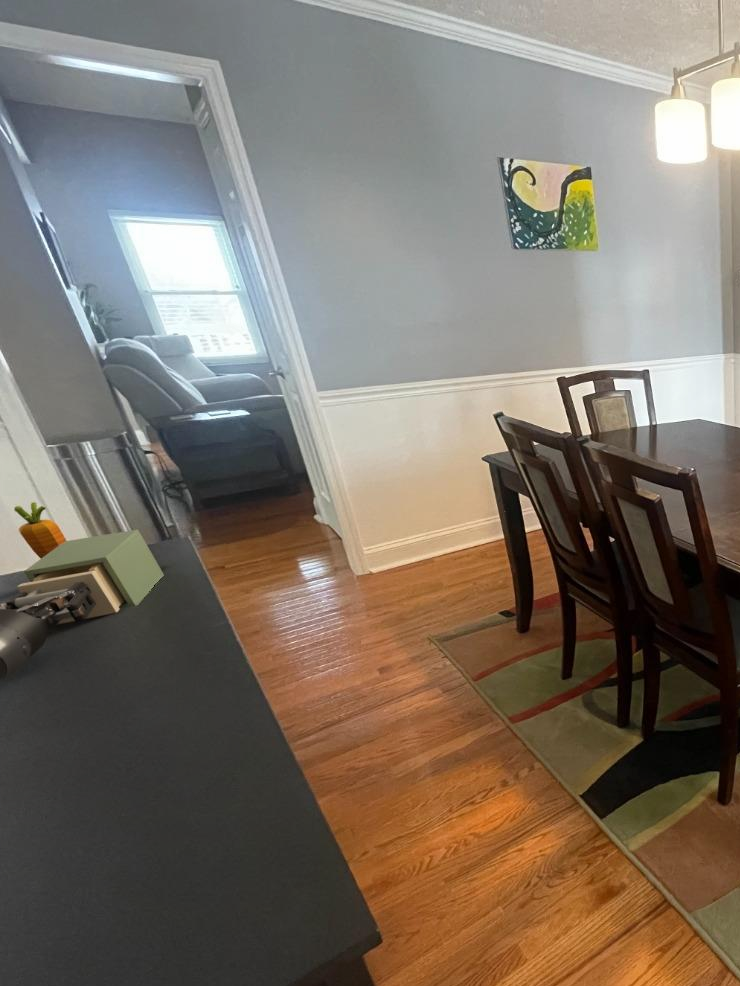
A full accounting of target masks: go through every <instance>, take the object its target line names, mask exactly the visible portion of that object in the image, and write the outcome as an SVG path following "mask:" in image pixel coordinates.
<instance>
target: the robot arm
mask: <svg viewBox="0 0 740 986" xmlns="http://www.w3.org/2000/svg"><path fill="white" fill-rule="evenodd" d="M90 593H91V590H90V589H89V587H88V585H87V584H85V583H84V582H77V583H75V584H74V585H72V586H71V587H70V588H69V589H68V590H67V591H65V593H63V594H61V595H59V596H57V597H47V598H45V599H42V600H40V601H38V602H36V603H34V604H32V605H26V606H24V607H22V608H17V607H16V606H15V603H14V601H15V599H17V598H21V597H26V596H27V595H28V594H27V593H26V592H22V593H21V592H18V593H16V594H15V595H13V596H12V597H10V599H8V600H7V601H6V602H4V603H2V602H1V603H0V683H1V682H3V681H4V680H6V679H7V678H9V677H11V676H12V675H13V674H14V673H16V671H18V670H19V669H20V668H21V667H22V666H23V665H24V664H25V663H27V661H28V660H29V659H30V658H31V657H32V656H33V655H34V654H35V653H36V652H37V651H39V649H41V648H42V647H43V645H44V644H45V642H46V640H47V636H48V632H49V630H50V629H51V628H53V627H55V626H56V624H57V625H59V624H58V623H59V622H60V621H61V620H63V619H66V618H71V617H73V619H74V620H75V621H74V622H80V621H83V620H86V619H85V618H86V617H87V616H88V615H89V613H90V612H91V610H92V609H93V608H94V606H95V605H96V602H95V601H94V599H93V598H92V596H91V594H90ZM65 599H67V601H68V602H69V603H66V604H63V600H65ZM48 604H49V605H50V607H51V608H52V609H53V610H52V609H51V608H49V607H47V606H46V605H48Z"/></svg>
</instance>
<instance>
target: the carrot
mask: <svg viewBox="0 0 740 986" xmlns="http://www.w3.org/2000/svg"><path fill="white" fill-rule="evenodd" d="M13 509H14V512H16V513H17V514H18V515H19V516H20V517H21V518H22V519H23V520H25V521H26V522H27V523H24V524H21V526H19V528H18V532H19V534H20V535H21V536H22V538H23V539H24V541H25V542H26V544H27V545H28V547H30V549H31V550H32V551H33V552H34V554H35V555H36V556H37V557H38V558H39V559H41V558H43V557H44V556H46V555H47V554H48V553H50V552H51V551H52V550H54V549H55V548H57V547H58V546H59V545H61V544H62V543H63V542H65V541H67V538H66V537H65V535H64V533H63V531H62V530H61V528H60V527H59V525H58V524H57V523H56V522H55V521H53V520H52V519H41V515H42V513H43V511H45V510H46V509H47V507H46V506H44V505H41V506H39V507H38V508H37V502H35V501H34V502H31V503H30V510H31V512H30V513H29V512H28V511H26V510H25V509H24V508H23V507H22V506H21V505H16V506H15V507H14V508H13Z"/></svg>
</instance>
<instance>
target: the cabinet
mask: <svg viewBox="0 0 740 986" xmlns="http://www.w3.org/2000/svg"><path fill="white" fill-rule="evenodd" d="M101 562H103V564H104V566H105V568H106V569H107V571H108V572H109V574H110V576H111V577H112V579H113V580H114V582H115V584H116V585H117V587H118V589H119V590H120V592H121V593H122V595H123V597H124V598H125V601H124V602H123V603H122V604H121V605H120V606H119V609H121V608H127V607H128V608H129V607H135V606H138V605H139V604H140V603H141V602H143V600H144V599H145V598H146V596H148V594H149V593H150V592H151V591H152V590H153V589H154V588H155V587H154V585H155V584H156V583H157V582H158V581H159V580H160V579H161V578H162V577H163V576H164V577H165V575H164V572H163V571H162V569H161V567H160V565H159V564H158V561H157V560H156V559H155V557H154V555H153V553H152V551H151V550H150V548H149V546H148V544H147V543H146V540H145V539H144V538H143V536H142V534H141V532H140V530H139V529H133V530H132V529H131V530H126V531H119V532H114V533H108V534H107V533H106V534H102V535H101V534H100V535H96V536H89V537H83V538H82V537H81V538H76V539H71V540H66V541H65V542H63V543H62V544H61V545H59V546H58V547H57V548H55V549H54V550H52V551H51V552H50V553H48V554H47V555H46V556H44V557H43V558H39V559H38V560H37V561H36V562H34V563H33V564H32V565H30V566H29V567H28V568H26V569H25V570H23V573H24V575H25V576H26V577H27V579H28V581H29V582H34V581H33V579H35V578H36V577H37V576H39V575H40V574H41V573H44V572H50V571H56V570H61V569H67V568H73V567H79V566H84V565H90V564H96V563H101ZM164 577H163V578H164ZM163 578H162V579H163ZM162 579H161V580H162ZM161 580H160V581H161ZM160 581H159V582H160ZM159 582H158V583H159ZM158 583H157V584H158ZM157 584H156V585H157ZM156 585H155V586H156ZM153 587H154V588H153ZM152 588H153V589H152ZM151 589H152V590H151ZM149 591H150V592H149ZM144 597H145V598H144Z"/></svg>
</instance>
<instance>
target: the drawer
mask: <svg viewBox="0 0 740 986" xmlns="http://www.w3.org/2000/svg"><path fill="white" fill-rule="evenodd" d="M33 581H34V582H30V581H29V582H24V583H23V582H22V583H20V584H18V585H17V586H16V588H17V590H18V591H19V593H22V592H26V593H27V594H28V595H27V596H26V597H21V598H17V599H15V601H14V603H15V606H16V607H17V608H22V607H24V606H26V605H32V604H34V603H36V602H38V601H40V600H42V599H45V598H47V597H57V596H59V595H61V594H63V593H65V591H67V590H68V589H69V588H70V587H71V586H72V585H74V584H75V583H77V582H84V583H85V584H87V585H88V587H89V589H90V590H91V593H90V594H91V596H92V598H93V599H94V601H95V602H96V605H95V606H94V608H93V609H92V610H91V612H90V613H89V615H88V616H87V617H86V618H85V619H84V620H87V619H91V618H96V617H101V616H106V615H111V614H116V613H117V614H118V612H119V611H120V608H119V606H120V605H121V604H122V603H123V602H124V601H125V598H124V597H123V595H122V593H121V592H120V590H119V589H118V587H117V585H116V584H115V582H114V580H113V579H112V577H111V576H110V574H109V572H108V571H107V569H106V568H105V566H104V564H103V562H101V563H96V564H90V565H84V566H79V567H73V568H67V569H61V570H56V571H50V572H44V573H41V574H40V575H39V576H37V577H36V578H35V579H33ZM66 603H69V602H68V601H67V599H65V600H63V604H66ZM46 606H47V607H49V608H51V607H50V605H49V604H48V605H46ZM51 609H52V608H51ZM52 610H53V609H52ZM71 622H76V621H75V620H74V619H73V617H71V618H66V619H63V620H61V621H60V622H59V623H58V624H56V625H61V624H67V623H71ZM56 625H55V626H56Z"/></svg>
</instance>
